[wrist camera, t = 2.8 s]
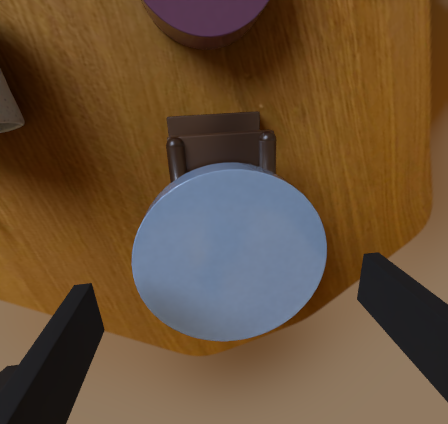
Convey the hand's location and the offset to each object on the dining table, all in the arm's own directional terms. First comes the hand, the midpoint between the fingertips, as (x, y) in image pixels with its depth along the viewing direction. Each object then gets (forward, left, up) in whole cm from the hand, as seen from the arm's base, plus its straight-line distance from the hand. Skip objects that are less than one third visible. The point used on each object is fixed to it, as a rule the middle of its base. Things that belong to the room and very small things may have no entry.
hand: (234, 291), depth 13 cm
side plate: (0, 0, -4) cm, 4 cm away
